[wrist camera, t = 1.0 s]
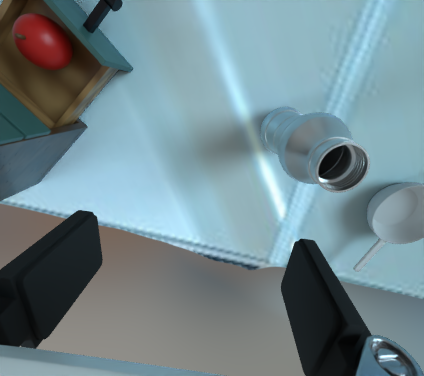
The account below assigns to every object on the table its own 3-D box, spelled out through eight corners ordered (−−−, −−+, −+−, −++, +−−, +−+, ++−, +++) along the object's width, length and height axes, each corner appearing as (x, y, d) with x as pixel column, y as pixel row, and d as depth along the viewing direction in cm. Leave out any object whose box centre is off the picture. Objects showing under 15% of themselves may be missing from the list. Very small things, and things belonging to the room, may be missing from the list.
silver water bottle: (261, 154, 35) (298, 217, 17) (254, 111, 32) (290, 131, 14) (302, 145, 34) (389, 203, 16) (298, 100, 31) (398, 107, 13)
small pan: (443, 193, 35) (467, 204, 32) (367, 266, 42) (380, 282, 39) (391, 166, 34) (410, 174, 31) (322, 246, 41) (331, 260, 38)
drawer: (66, -74, 25) (5, -140, 18) (158, 40, 29) (136, 22, 22) (-10, 58, 32) (-78, 47, 25) (74, 137, 36) (36, 147, 29)
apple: (32, 25, 28) (-23, 5, 22) (73, 19, 27) (28, -4, 21) (50, 74, 30) (4, 69, 24) (88, 70, 30) (51, 63, 23)
